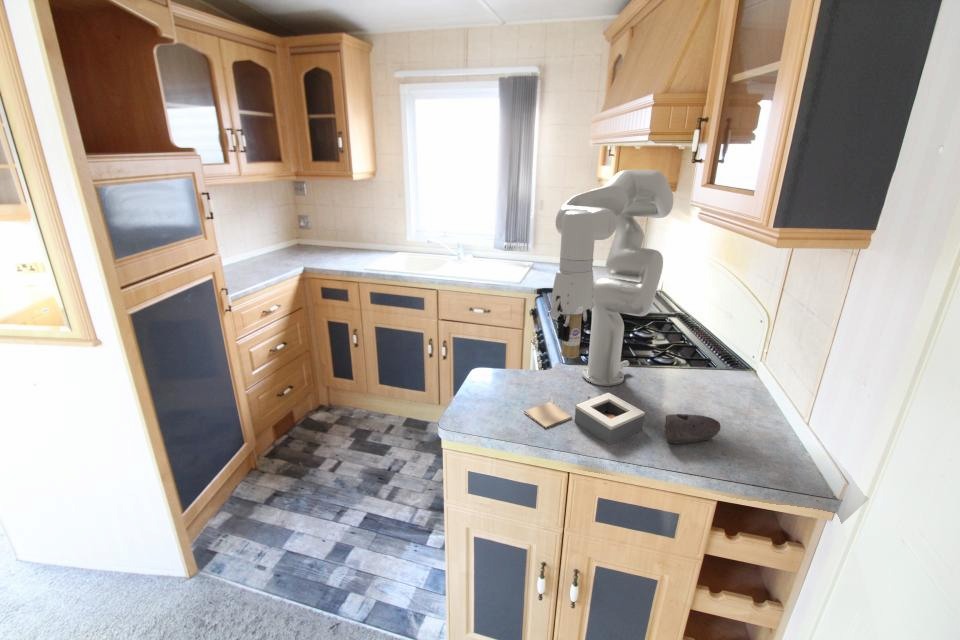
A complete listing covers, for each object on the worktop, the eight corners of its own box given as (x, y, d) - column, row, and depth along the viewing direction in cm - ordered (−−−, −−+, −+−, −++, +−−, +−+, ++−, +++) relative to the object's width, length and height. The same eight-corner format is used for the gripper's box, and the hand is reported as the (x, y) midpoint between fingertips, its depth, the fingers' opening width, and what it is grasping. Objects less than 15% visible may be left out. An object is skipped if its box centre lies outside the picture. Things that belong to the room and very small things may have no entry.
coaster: (549, 403, 129) (549, 401, 128) (571, 418, 121) (572, 416, 121) (524, 412, 124) (524, 410, 124) (545, 428, 117) (545, 426, 117)
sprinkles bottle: (568, 360, 112) (572, 308, 107) (557, 353, 116) (560, 302, 111) (583, 356, 114) (587, 305, 109) (571, 350, 118) (574, 300, 113)
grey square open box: (606, 408, 126) (608, 392, 124) (642, 429, 116) (644, 412, 115) (574, 421, 120) (575, 404, 118) (609, 444, 110) (611, 426, 109)
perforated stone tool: (712, 432, 115) (717, 408, 113) (724, 445, 110) (730, 420, 108) (654, 435, 114) (658, 411, 112) (664, 448, 109) (668, 423, 107)
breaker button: (607, 417, 121) (608, 412, 120) (621, 425, 117) (621, 420, 117) (595, 422, 119) (595, 417, 118) (608, 431, 115) (609, 425, 114)
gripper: (588, 257, 114) (583, 326, 121) (538, 266, 105) (534, 340, 112) (612, 263, 109) (605, 335, 115) (561, 273, 100) (556, 350, 106)
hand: (570, 336), depth 113 cm, fingers closed on sprinkles bottle, 4 cm apart
